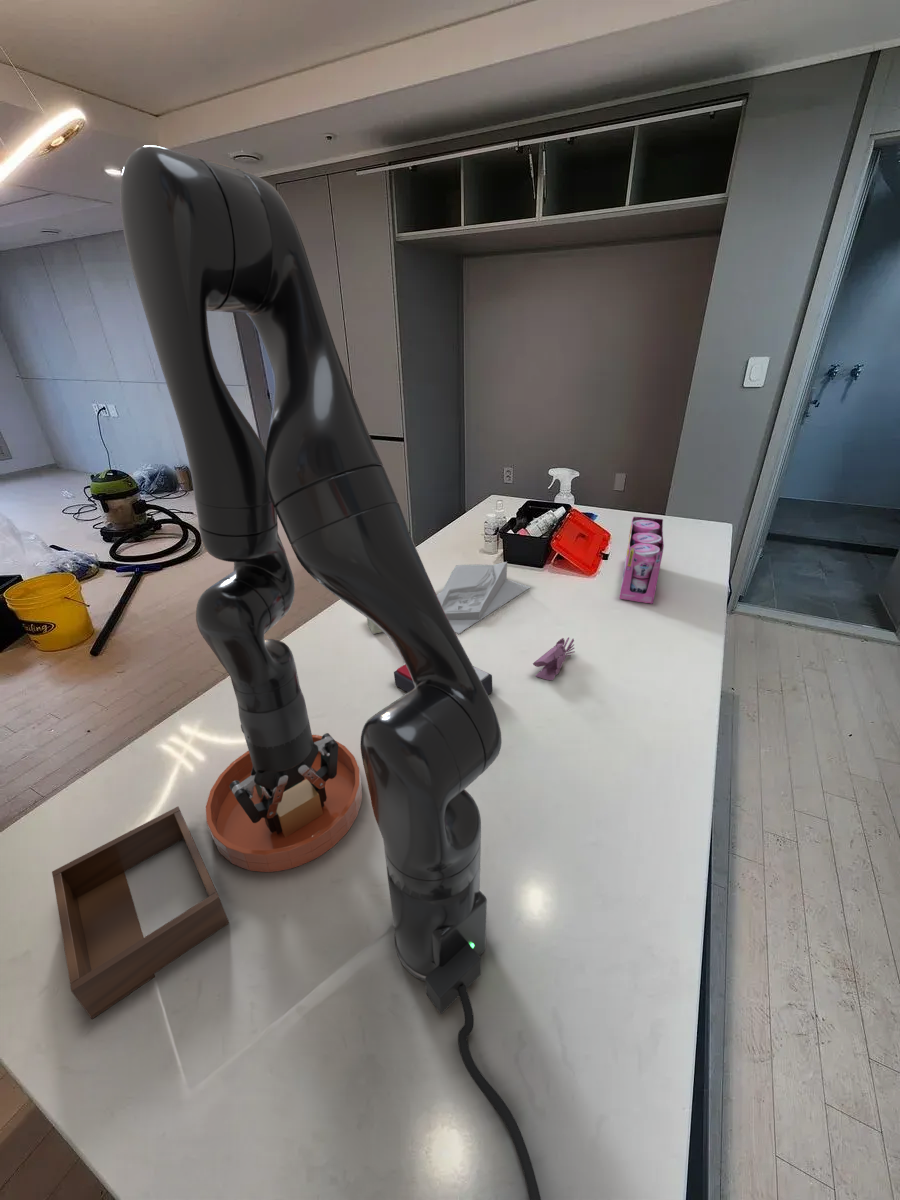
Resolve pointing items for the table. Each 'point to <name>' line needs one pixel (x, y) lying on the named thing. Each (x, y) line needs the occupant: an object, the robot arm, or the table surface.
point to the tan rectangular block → (298, 807)
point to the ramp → (476, 593)
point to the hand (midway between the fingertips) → (298, 815)
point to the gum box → (642, 560)
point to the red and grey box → (406, 683)
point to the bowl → (275, 851)
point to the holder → (125, 915)
